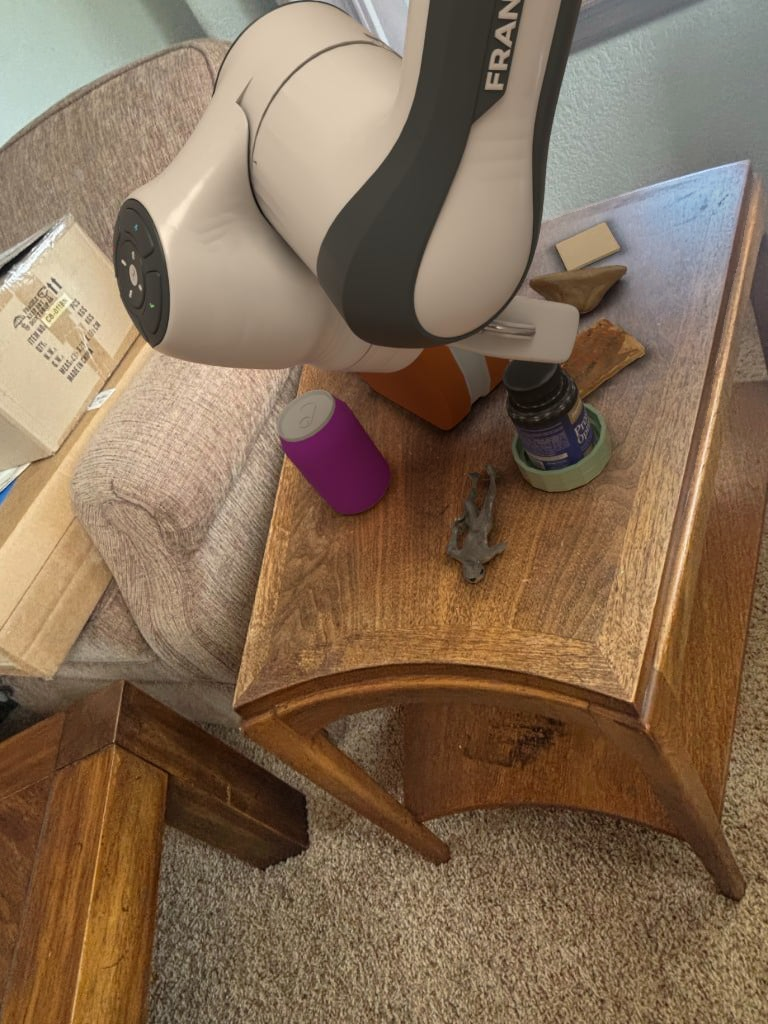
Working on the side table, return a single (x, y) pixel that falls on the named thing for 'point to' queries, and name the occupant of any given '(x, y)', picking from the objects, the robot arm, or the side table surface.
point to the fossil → (578, 286)
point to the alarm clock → (440, 383)
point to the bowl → (574, 473)
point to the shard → (600, 355)
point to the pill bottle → (547, 414)
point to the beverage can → (333, 451)
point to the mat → (587, 247)
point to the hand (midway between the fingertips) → (503, 317)
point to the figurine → (475, 530)
